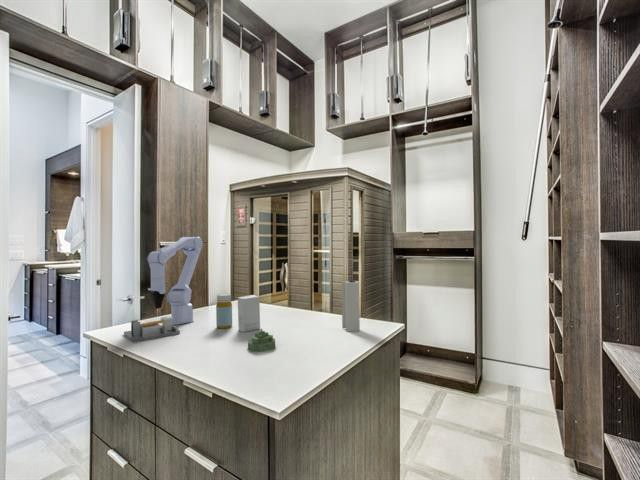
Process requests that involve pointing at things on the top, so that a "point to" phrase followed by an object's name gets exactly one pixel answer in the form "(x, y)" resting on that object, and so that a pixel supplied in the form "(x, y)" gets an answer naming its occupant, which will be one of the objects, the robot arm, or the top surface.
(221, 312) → the bottle
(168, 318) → the clip
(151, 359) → the top surface
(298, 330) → the top surface
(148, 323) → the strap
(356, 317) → the tall grey block
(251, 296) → the skincare box
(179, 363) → the top surface
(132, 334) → the grey workpiece holding fixture
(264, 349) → the decorative artifact
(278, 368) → the top surface
